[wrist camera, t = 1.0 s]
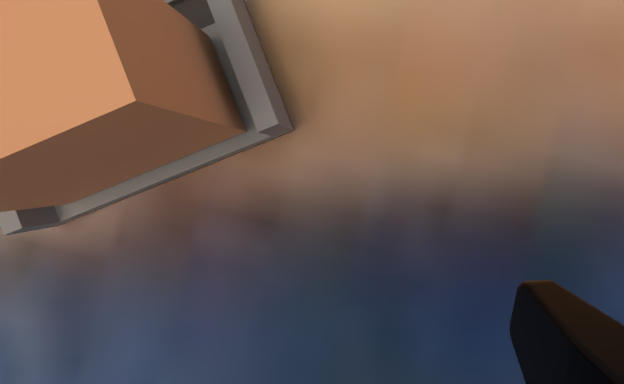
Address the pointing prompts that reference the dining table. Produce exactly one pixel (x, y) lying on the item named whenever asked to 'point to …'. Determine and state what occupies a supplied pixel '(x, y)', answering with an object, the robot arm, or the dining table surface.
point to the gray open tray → (259, 128)
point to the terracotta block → (102, 96)
